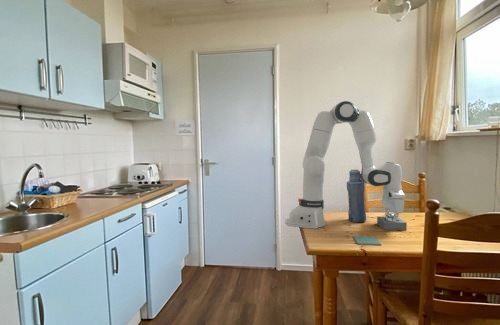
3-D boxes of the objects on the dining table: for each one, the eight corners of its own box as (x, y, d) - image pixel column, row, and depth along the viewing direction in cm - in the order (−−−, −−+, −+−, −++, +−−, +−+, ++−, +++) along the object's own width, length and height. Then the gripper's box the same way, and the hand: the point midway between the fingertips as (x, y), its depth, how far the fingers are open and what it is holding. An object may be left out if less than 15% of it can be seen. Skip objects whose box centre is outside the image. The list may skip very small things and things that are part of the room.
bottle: (347, 218, 164) (343, 169, 163) (364, 217, 163) (361, 168, 161) (350, 222, 155) (346, 171, 153) (368, 222, 153) (365, 169, 152)
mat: (358, 244, 122) (358, 243, 122) (352, 236, 131) (352, 235, 131) (381, 245, 120) (381, 244, 120) (373, 237, 130) (373, 236, 130)
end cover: (387, 228, 145) (387, 215, 144) (383, 224, 151) (383, 212, 150) (399, 228, 144) (399, 215, 143) (394, 225, 150) (395, 212, 149)
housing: (384, 229, 142) (384, 222, 142) (377, 223, 153) (377, 216, 153) (406, 230, 141) (406, 222, 141) (397, 224, 152) (397, 217, 152)
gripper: (379, 188, 157) (378, 212, 158) (393, 195, 136) (392, 222, 137) (390, 189, 156) (390, 212, 157) (406, 195, 136) (405, 222, 136)
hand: (391, 217), depth 147 cm, fingers open, 8 cm apart
